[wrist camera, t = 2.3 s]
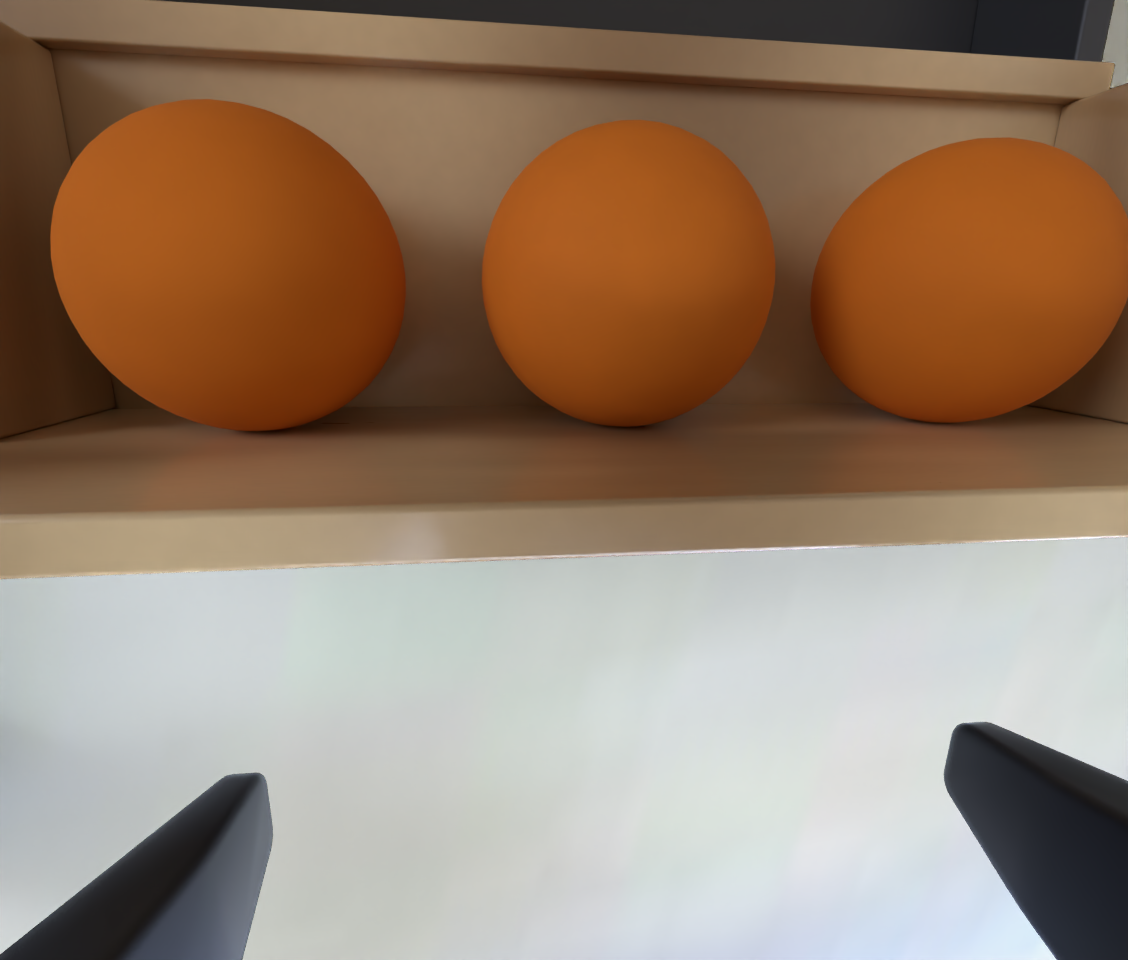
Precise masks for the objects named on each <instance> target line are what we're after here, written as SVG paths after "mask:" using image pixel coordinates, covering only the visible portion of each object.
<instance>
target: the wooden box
mask: <svg viewBox="0 0 1128 960" xmlns="http://www.w3.org/2000/svg"><path fill="white" fill-rule="evenodd" d="M1114 67H1115V63H1109V62H1094V61H1078V60H1063V59H1048V58H1032V57H1017V56H1002V55H986V54H971V53H956V52H940V51H925V50H909V49H894V48H879V47H863V46H848V45H833V44H817V43H802V42H787V41H771V40H756V39H740V38H725V37H710V36H694V35H679V34H664V33H648V32H633V31H618V30H602V29H587V28H572V27H556V26H541V25H525V24H510V23H495V22H479V21H464V20H449V19H433V18H418V17H403V16H387V15H372V14H356V13H341V12H326V11H310V10H295V9H280V8H264V7H249V6H234V5H218V4H203V3H188V2H172V1H157V0H0V579H18V578H45V577H72V576H99V575H125V574H152V573H179V572H205V571H232V570H259V569H286V568H312V567H339V566H366V565H392V564H419V563H446V562H472V561H499V560H526V559H553V558H579V557H606V556H633V555H659V554H686V553H713V552H740V551H766V550H793V549H820V548H846V547H873V546H900V545H926V544H953V543H980V542H1007V541H1033V540H1060V539H1087V538H1113V537H1128V298H1127V301H1126V304H1125V306H1124V309H1123V311H1122V313H1121V315H1120V317H1119V319H1118V321H1117V323H1116V325H1115V327H1114V329H1113V330H1112V332H1111V334H1110V335H1109V337H1108V338H1107V340H1106V341H1105V342H1104V344H1103V345H1102V347H1101V348H1100V349H1099V350H1098V351H1097V353H1096V354H1095V355H1094V356H1093V357H1092V358H1091V359H1090V360H1089V361H1088V362H1087V363H1086V364H1085V365H1084V367H1082V368H1081V369H1080V370H1079V371H1078V372H1077V373H1076V374H1074V375H1073V376H1072V377H1071V378H1070V379H1068V380H1067V381H1066V382H1064V383H1063V384H1062V385H1060V386H1059V387H1058V388H1056V389H1055V390H1053V391H1052V392H1050V393H1048V394H1047V395H1045V396H1044V397H1042V398H1040V399H1038V400H1036V401H1034V402H1032V403H1030V404H1028V405H1025V406H1023V407H1020V408H1018V409H1015V410H1013V411H1010V412H1008V413H1004V414H1001V415H998V416H994V417H990V418H985V419H980V420H974V421H968V422H956V423H938V422H924V421H919V420H914V419H909V418H904V417H900V416H897V415H894V414H892V413H889V412H886V411H884V410H881V409H879V408H877V407H875V406H873V405H871V404H870V403H868V402H866V401H865V400H863V399H861V398H860V397H858V396H857V395H856V394H854V393H853V392H852V391H851V390H850V389H848V388H847V387H846V386H845V385H844V384H843V383H842V382H841V381H840V380H839V378H838V377H837V376H836V375H835V374H834V373H833V371H832V370H831V368H830V367H829V365H828V363H827V362H826V360H825V358H824V357H823V355H822V353H821V351H820V349H819V346H818V343H817V341H816V338H815V334H814V330H813V325H812V320H811V308H810V302H811V287H812V281H813V276H814V271H815V268H816V264H817V261H818V258H819V255H820V253H821V251H822V248H823V246H824V244H825V241H826V240H827V238H828V236H829V234H830V232H831V231H832V229H833V227H834V226H835V224H836V223H837V221H838V220H839V219H840V217H841V216H842V214H843V213H844V212H845V211H846V210H847V208H848V207H849V206H850V205H851V204H852V203H853V201H854V200H855V199H856V198H857V197H858V196H859V195H861V194H862V193H863V192H864V191H865V190H866V189H867V188H868V187H869V186H870V185H871V184H873V183H874V182H875V181H877V180H878V179H879V178H880V177H882V176H883V175H884V174H886V173H887V172H889V171H890V170H892V169H893V168H895V167H897V166H898V165H900V164H902V163H903V162H905V161H908V160H910V159H912V158H914V157H916V156H918V155H920V154H922V153H925V152H927V151H929V150H932V149H935V148H938V147H941V146H944V145H947V144H951V143H956V142H960V141H966V140H971V139H977V138H1007V137H1010V138H1018V139H1025V140H1031V141H1036V142H1041V143H1044V144H1047V145H1050V146H1053V147H1056V148H1059V149H1061V150H1063V151H1065V152H1068V153H1070V154H1071V155H1073V156H1075V157H1077V158H1078V159H1080V160H1082V161H1084V162H1085V163H1086V164H1087V165H1089V166H1090V167H1091V168H1092V169H1094V170H1095V171H1096V172H1097V173H1098V174H1099V175H1100V176H1101V177H1102V178H1104V179H1105V180H1106V182H1107V183H1108V185H1109V186H1110V187H1111V189H1112V190H1113V192H1114V193H1115V194H1116V196H1117V197H1118V199H1119V200H1120V201H1121V203H1122V206H1123V208H1124V210H1125V212H1126V215H1127V218H1128V83H1126V84H1124V85H1121V86H1118V87H1115V88H1112V89H1110V85H1111V80H1112V76H1113V71H1114ZM191 99H213V100H221V101H230V102H237V103H242V104H246V105H250V106H253V107H257V108H261V109H265V110H267V111H270V112H273V113H275V114H278V115H280V116H283V117H285V118H288V119H289V120H291V121H293V122H295V123H297V124H299V125H301V126H302V127H304V128H306V129H308V130H310V131H311V132H313V133H314V134H315V135H317V136H318V137H320V138H321V139H323V140H324V141H325V142H327V143H328V144H330V145H331V146H332V147H333V148H334V149H335V150H336V151H338V152H339V153H340V154H341V155H342V156H343V157H344V158H345V159H347V160H348V161H349V162H350V163H351V165H352V166H353V167H354V168H355V169H356V170H357V171H358V172H359V173H360V175H361V176H362V177H363V178H364V179H365V180H366V182H367V183H368V185H369V186H370V187H371V189H372V190H373V191H374V193H375V194H376V196H377V197H378V199H379V201H380V203H381V204H382V206H383V208H384V210H385V211H386V213H387V215H388V217H389V219H390V222H391V224H392V226H393V229H394V231H395V233H396V236H397V239H398V243H399V246H400V250H401V253H402V257H403V263H404V270H405V278H406V298H405V307H404V316H403V321H402V325H401V329H400V333H399V336H398V339H397V341H396V343H395V346H394V348H393V350H392V353H391V354H390V356H389V358H388V359H387V361H386V363H385V364H384V366H383V368H382V369H381V371H380V373H379V374H378V375H377V376H376V377H375V378H374V380H373V381H372V382H371V383H370V384H369V386H367V387H366V388H365V389H364V390H363V391H362V392H361V393H360V394H358V395H357V396H356V397H355V398H354V399H353V400H351V401H350V402H349V403H347V404H346V405H344V406H343V407H341V408H340V409H338V410H337V411H335V412H333V413H330V414H328V415H326V416H324V417H322V418H320V419H317V420H315V421H312V422H309V423H306V424H303V425H300V426H296V427H291V428H285V429H280V430H267V431H236V430H229V429H222V428H216V427H212V426H208V425H204V424H200V423H197V422H194V421H191V420H189V419H186V418H183V417H180V416H178V415H175V414H173V413H171V412H169V411H167V410H164V409H162V408H160V407H158V406H156V405H155V404H153V403H151V402H150V401H148V400H146V399H145V398H143V397H141V396H140V395H138V394H137V393H136V392H134V391H133V390H131V389H130V388H129V387H127V386H126V385H125V384H123V383H122V382H121V381H120V380H119V379H118V378H117V377H115V376H114V375H113V374H112V373H111V372H110V371H109V370H108V369H107V368H106V367H105V366H104V365H103V364H102V363H101V362H100V361H99V360H98V359H97V357H96V356H95V355H94V354H93V353H92V351H91V350H90V349H89V347H88V346H87V345H86V343H85V342H84V341H83V339H82V338H81V336H80V334H79V333H78V331H77V329H76V328H75V326H74V324H73V323H72V321H71V319H70V317H69V315H68V313H67V311H66V309H65V306H64V304H63V302H62V300H61V297H60V294H59V291H58V288H57V285H56V281H55V278H54V273H53V267H52V261H51V240H50V235H51V223H52V216H53V208H54V205H55V202H56V198H57V195H58V192H59V189H60V187H61V185H62V183H63V181H64V179H65V177H66V175H67V174H68V172H69V170H70V168H71V166H72V164H73V163H74V161H75V160H76V158H77V157H78V156H79V155H80V153H81V152H82V151H83V150H84V148H85V147H86V146H87V145H88V144H89V143H90V142H91V141H92V140H93V139H95V138H96V137H97V136H98V135H99V134H101V133H102V132H103V131H104V130H105V129H107V128H108V127H110V126H111V125H112V124H114V123H116V122H118V121H119V120H121V119H123V118H125V117H126V116H128V115H130V114H132V113H134V112H137V111H140V110H143V109H146V108H148V107H151V106H155V105H159V104H164V103H169V102H175V101H180V100H191ZM619 120H647V121H655V122H662V123H665V124H669V125H672V126H675V127H679V128H682V129H684V130H686V131H688V132H690V133H692V134H694V135H696V136H699V137H701V138H703V139H705V140H706V141H707V142H709V143H710V144H712V145H713V146H715V147H716V148H718V149H719V150H721V151H722V152H723V153H724V154H725V155H726V156H727V157H728V158H729V159H730V160H731V161H732V162H733V163H734V164H735V165H736V166H737V167H738V168H739V170H740V171H741V172H742V174H743V175H744V176H745V177H746V179H747V180H748V181H749V183H750V184H751V185H752V187H753V189H754V191H755V193H756V194H757V196H758V198H759V200H760V201H761V204H762V206H763V209H764V211H765V214H766V217H767V219H768V223H769V227H770V231H771V236H772V240H773V245H774V255H775V285H774V291H773V297H772V303H771V306H770V310H769V313H768V317H767V321H766V324H765V326H764V329H763V331H762V333H761V336H760V338H759V340H758V342H757V344H756V346H755V348H754V349H753V351H752V353H751V355H750V356H749V358H748V359H747V361H746V362H745V363H744V365H743V366H742V368H741V369H740V370H739V371H738V372H737V374H736V375H735V376H734V377H733V378H732V379H731V380H730V381H729V382H728V383H727V384H726V385H725V386H724V387H723V388H722V389H721V390H720V391H719V392H717V393H716V394H715V395H714V396H712V397H711V398H709V399H708V400H707V401H705V402H704V403H702V404H701V405H699V406H697V407H695V408H694V409H692V410H690V411H688V412H686V413H684V414H682V415H679V416H677V417H675V418H672V419H669V420H665V421H662V422H659V423H654V424H649V425H643V426H630V427H623V426H606V425H600V424H594V423H590V422H586V421H583V420H580V419H576V418H574V417H572V416H570V415H567V414H565V413H563V412H561V411H559V410H557V409H556V408H554V407H552V406H551V405H549V404H548V403H546V402H544V401H543V400H541V399H540V398H539V397H538V396H536V395H535V394H534V393H533V392H532V391H530V390H529V389H528V388H527V387H526V386H525V385H524V384H523V382H522V381H521V380H520V379H519V378H518V377H517V376H516V375H515V373H514V372H513V370H512V369H511V368H510V366H509V365H508V363H507V362H506V361H505V359H504V358H503V356H502V354H501V352H500V350H499V348H498V346H497V344H496V343H495V340H494V337H493V335H492V332H491V329H490V327H489V323H488V319H487V315H486V310H485V306H484V301H483V291H482V262H483V256H484V250H485V244H486V240H487V237H488V234H489V230H490V227H491V224H492V221H493V218H494V216H495V214H496V211H497V209H498V207H499V205H500V203H501V201H502V199H503V197H504V196H505V194H506V193H507V191H508V189H509V188H510V186H511V184H512V183H513V182H514V181H515V179H516V178H517V177H518V176H519V174H520V173H521V172H522V171H523V170H524V168H525V167H526V166H527V165H528V164H529V163H531V162H532V161H533V160H534V159H535V158H536V157H537V156H538V155H539V154H540V153H541V152H543V151H544V150H546V149H547V148H549V147H550V146H551V145H553V144H554V143H556V142H557V141H559V140H561V139H563V138H565V137H567V136H568V135H570V134H572V133H574V132H576V131H579V130H582V129H585V128H588V127H591V126H594V125H597V124H603V123H608V122H613V121H619Z"/></svg>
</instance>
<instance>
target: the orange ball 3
mask: <svg viewBox="0 0 1128 960" xmlns="http://www.w3.org/2000/svg"><path fill="white" fill-rule="evenodd" d="M1127 298H1128V218H1127V215H1126V212H1125V210H1124V208H1123V206H1122V203H1121V201H1120V200H1119V199H1118V197H1117V196H1116V194H1115V193H1114V192H1113V190H1112V189H1111V187H1110V186H1109V185H1108V183H1107V182H1106V180H1105V179H1104V178H1102V177H1101V176H1100V175H1099V174H1098V173H1097V172H1096V171H1095V170H1094V169H1092V168H1091V167H1090V166H1089V165H1087V164H1086V163H1085V162H1084V161H1082V160H1080V159H1078V158H1077V157H1075V156H1073V155H1071V154H1070V153H1068V152H1065V151H1063V150H1061V149H1059V148H1056V147H1053V146H1050V145H1047V144H1044V143H1041V142H1036V141H1031V140H1025V139H1018V138H1010V137H1007V138H977V139H971V140H966V141H960V142H956V143H951V144H947V145H944V146H941V147H938V148H935V149H932V150H929V151H927V152H925V153H922V154H920V155H918V156H916V157H914V158H912V159H910V160H908V161H905V162H903V163H902V164H900V165H898V166H897V167H895V168H893V169H892V170H890V171H889V172H887V173H886V174H884V175H883V176H882V177H880V178H879V179H878V180H877V181H875V182H874V183H873V184H871V185H870V186H869V187H868V188H867V189H866V190H865V191H864V192H863V193H862V194H861V195H859V196H858V197H857V198H856V199H855V200H854V201H853V203H852V204H851V205H850V206H849V207H848V208H847V210H846V211H845V212H844V213H843V214H842V216H841V217H840V219H839V220H838V221H837V223H836V224H835V226H834V227H833V229H832V231H831V232H830V234H829V236H828V238H827V240H826V241H825V244H824V246H823V248H822V251H821V253H820V255H819V258H818V261H817V264H816V268H815V271H814V276H813V281H812V287H811V302H810V308H811V320H812V325H813V330H814V334H815V338H816V341H817V343H818V346H819V349H820V351H821V353H822V355H823V357H824V358H825V360H826V362H827V363H828V365H829V367H830V368H831V370H832V371H833V373H834V374H835V375H836V376H837V377H838V378H839V380H840V381H841V382H842V383H843V384H844V385H845V386H846V387H847V388H848V389H850V390H851V391H852V392H853V393H854V394H856V395H857V396H858V397H860V398H861V399H863V400H865V401H866V402H868V403H870V404H871V405H873V406H875V407H877V408H879V409H881V410H884V411H886V412H889V413H892V414H894V415H897V416H900V417H904V418H909V419H914V420H919V421H924V422H938V423H956V422H968V421H974V420H980V419H985V418H990V417H994V416H998V415H1001V414H1004V413H1008V412H1010V411H1013V410H1015V409H1018V408H1020V407H1023V406H1025V405H1028V404H1030V403H1032V402H1034V401H1036V400H1038V399H1040V398H1042V397H1044V396H1045V395H1047V394H1048V393H1050V392H1052V391H1053V390H1055V389H1056V388H1058V387H1059V386H1060V385H1062V384H1063V383H1064V382H1066V381H1067V380H1068V379H1070V378H1071V377H1072V376H1073V375H1074V374H1076V373H1077V372H1078V371H1079V370H1080V369H1081V368H1082V367H1084V365H1085V364H1086V363H1087V362H1088V361H1089V360H1090V359H1091V358H1092V357H1093V356H1094V355H1095V354H1096V353H1097V351H1098V350H1099V349H1100V348H1101V347H1102V345H1103V344H1104V342H1105V341H1106V340H1107V338H1108V337H1109V335H1110V334H1111V332H1112V330H1113V329H1114V327H1115V325H1116V323H1117V321H1118V319H1119V317H1120V315H1121V313H1122V311H1123V309H1124V306H1125V304H1126V301H1127Z"/></svg>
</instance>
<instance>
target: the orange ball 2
mask: <svg viewBox="0 0 1128 960" xmlns="http://www.w3.org/2000/svg"><path fill="white" fill-rule="evenodd" d="M774 285H775V255H774V245H773V240H772V236H771V231H770V227H769V223H768V219H767V217H766V214H765V211H764V209H763V206H762V204H761V201H760V200H759V198H758V196H757V194H756V193H755V191H754V189H753V187H752V185H751V184H750V183H749V181H748V180H747V179H746V177H745V176H744V175H743V174H742V172H741V171H740V170H739V168H738V167H737V166H736V165H735V164H734V163H733V162H732V161H731V160H730V159H729V158H728V157H727V156H726V155H725V154H724V153H723V152H722V151H721V150H719V149H718V148H716V147H715V146H713V145H712V144H710V143H709V142H707V141H706V140H705V139H703V138H701V137H699V136H696V135H694V134H692V133H690V132H688V131H686V130H684V129H682V128H679V127H675V126H672V125H669V124H665V123H662V122H655V121H647V120H619V121H613V122H608V123H603V124H597V125H594V126H591V127H588V128H585V129H582V130H579V131H576V132H574V133H572V134H570V135H568V136H567V137H565V138H563V139H561V140H559V141H557V142H556V143H554V144H553V145H551V146H550V147H549V148H547V149H546V150H544V151H543V152H541V153H540V154H539V155H538V156H537V157H536V158H535V159H534V160H533V161H532V162H531V163H529V164H528V165H527V166H526V167H525V168H524V170H523V171H522V172H521V173H520V174H519V176H518V177H517V178H516V179H515V181H514V182H513V183H512V184H511V186H510V188H509V189H508V191H507V193H506V194H505V196H504V197H503V199H502V201H501V203H500V205H499V207H498V209H497V211H496V214H495V216H494V218H493V221H492V224H491V227H490V230H489V234H488V237H487V240H486V244H485V250H484V256H483V262H482V291H483V301H484V306H485V310H486V315H487V319H488V323H489V327H490V329H491V332H492V335H493V337H494V340H495V343H496V344H497V346H498V348H499V350H500V352H501V354H502V356H503V358H504V359H505V361H506V362H507V363H508V365H509V366H510V368H511V369H512V370H513V372H514V373H515V375H516V376H517V377H518V378H519V379H520V380H521V381H522V382H523V384H524V385H525V386H526V387H527V388H528V389H529V390H530V391H532V392H533V393H534V394H535V395H536V396H538V397H539V398H540V399H541V400H543V401H544V402H546V403H548V404H549V405H551V406H552V407H554V408H556V409H557V410H559V411H561V412H563V413H565V414H567V415H570V416H572V417H574V418H576V419H580V420H583V421H586V422H590V423H594V424H600V425H606V426H623V427H630V426H643V425H649V424H654V423H659V422H662V421H665V420H669V419H672V418H675V417H677V416H679V415H682V414H684V413H686V412H688V411H690V410H692V409H694V408H695V407H697V406H699V405H701V404H702V403H704V402H705V401H707V400H708V399H709V398H711V397H712V396H714V395H715V394H716V393H717V392H719V391H720V390H721V389H722V388H723V387H724V386H725V385H726V384H727V383H728V382H729V381H730V380H731V379H732V378H733V377H734V376H735V375H736V374H737V372H738V371H739V370H740V369H741V368H742V366H743V365H744V363H745V362H746V361H747V359H748V358H749V356H750V355H751V353H752V351H753V349H754V348H755V346H756V344H757V342H758V340H759V338H760V336H761V333H762V331H763V329H764V326H765V324H766V321H767V317H768V313H769V310H770V306H771V303H772V297H773V291H774Z"/></svg>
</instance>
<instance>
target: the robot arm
mask: <svg viewBox="0 0 1128 960" xmlns="http://www.w3.org/2000/svg"><path fill="white" fill-rule="evenodd" d="M944 781H945V786H946V788H947V791H948V793H949V795H950V797H951V798H952V800H953V801H954V803H955V805H956V806H957V808H958V810H959V811H960V813H961V814H962V816H963V818H964V819H965V821H966V822H967V824H968V826H969V827H970V829H971V831H972V832H973V834H974V835H975V837H976V839H977V840H978V842H979V844H980V845H981V847H982V848H983V850H984V852H985V853H986V855H987V856H988V858H989V860H990V861H991V863H992V865H993V866H994V868H995V869H996V871H997V873H998V874H999V876H1000V877H1001V879H1002V881H1003V882H1004V884H1005V886H1006V887H1007V889H1008V890H1009V892H1010V893H1011V895H1012V897H1013V898H1014V900H1015V901H1016V903H1017V904H1018V906H1019V907H1020V909H1021V910H1022V912H1023V913H1024V915H1025V916H1026V918H1027V919H1028V920H1029V922H1030V923H1031V925H1032V926H1033V928H1034V929H1035V930H1036V932H1037V933H1038V935H1039V936H1040V937H1041V939H1042V940H1043V941H1044V943H1045V944H1046V946H1047V947H1048V948H1049V950H1050V951H1051V952H1052V954H1053V955H1054V957H1055V958H1056V959H1057V960H1128V781H1126V780H1124V779H1122V778H1119V777H1117V776H1115V775H1112V774H1110V773H1107V772H1105V771H1103V770H1100V769H1098V768H1096V767H1093V766H1091V765H1089V764H1086V763H1084V762H1082V761H1079V760H1077V759H1075V758H1072V757H1070V756H1068V755H1065V754H1063V753H1061V752H1058V751H1056V750H1053V749H1051V748H1049V747H1046V746H1044V745H1042V744H1039V743H1037V742H1035V741H1032V740H1030V739H1028V738H1025V737H1023V736H1021V735H1018V734H1016V733H1014V732H1011V731H1009V730H1006V729H1004V728H1002V727H999V726H997V725H995V724H992V723H988V722H974V723H962V724H959V725H957V726H956V728H955V729H954V730H953V733H952V737H951V741H950V746H949V751H948V755H947V760H946V765H945V769H944ZM272 838H273V827H272V819H271V812H270V804H269V797H268V789H267V783H266V780H265V778H264V776H263V775H262V774H260V773H246V774H232V775H227V776H225V777H224V778H222V779H221V780H219V781H218V782H217V783H215V784H214V785H213V786H212V787H210V788H209V789H208V790H207V791H205V792H204V793H203V794H202V795H200V796H199V797H198V798H197V799H195V800H194V801H193V802H192V803H190V804H189V805H188V806H186V807H185V808H184V809H183V810H181V811H180V812H179V813H178V814H176V815H175V816H174V817H173V818H171V819H170V820H169V821H168V822H166V823H165V824H164V825H163V826H161V827H160V828H159V829H158V830H156V831H155V832H154V833H153V834H151V835H150V836H149V837H147V838H146V839H145V840H144V841H142V842H141V843H140V844H139V845H137V846H136V847H135V848H134V849H132V850H131V851H130V852H129V853H127V854H126V855H125V856H124V857H122V858H121V859H120V860H119V861H117V862H116V863H115V864H114V865H112V866H111V867H110V868H108V869H107V870H106V871H105V872H103V873H102V874H101V875H100V876H98V877H97V878H96V879H95V880H93V881H92V882H91V883H90V884H88V885H87V886H86V887H85V888H83V889H82V890H81V891H80V892H78V893H77V894H76V895H75V896H73V897H72V898H71V899H69V900H68V901H67V902H66V903H64V904H63V905H62V906H61V907H59V908H58V909H57V910H56V911H54V912H53V913H52V914H51V915H49V916H48V917H47V918H46V919H44V920H43V921H42V922H41V923H39V924H38V925H37V926H35V927H34V928H33V929H32V930H30V931H29V932H28V933H27V934H25V935H24V936H23V937H22V938H20V939H19V940H18V941H17V942H15V943H14V944H13V945H12V946H10V947H9V948H8V949H7V950H5V951H4V952H3V953H2V954H0V960H242V958H243V955H244V951H245V947H246V943H247V939H248V935H249V932H250V928H251V924H252V920H253V916H254V913H255V909H256V905H257V901H258V897H259V893H260V890H261V886H262V882H263V878H264V874H265V870H266V867H267V863H268V859H269V855H270V851H271V846H272Z"/></svg>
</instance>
